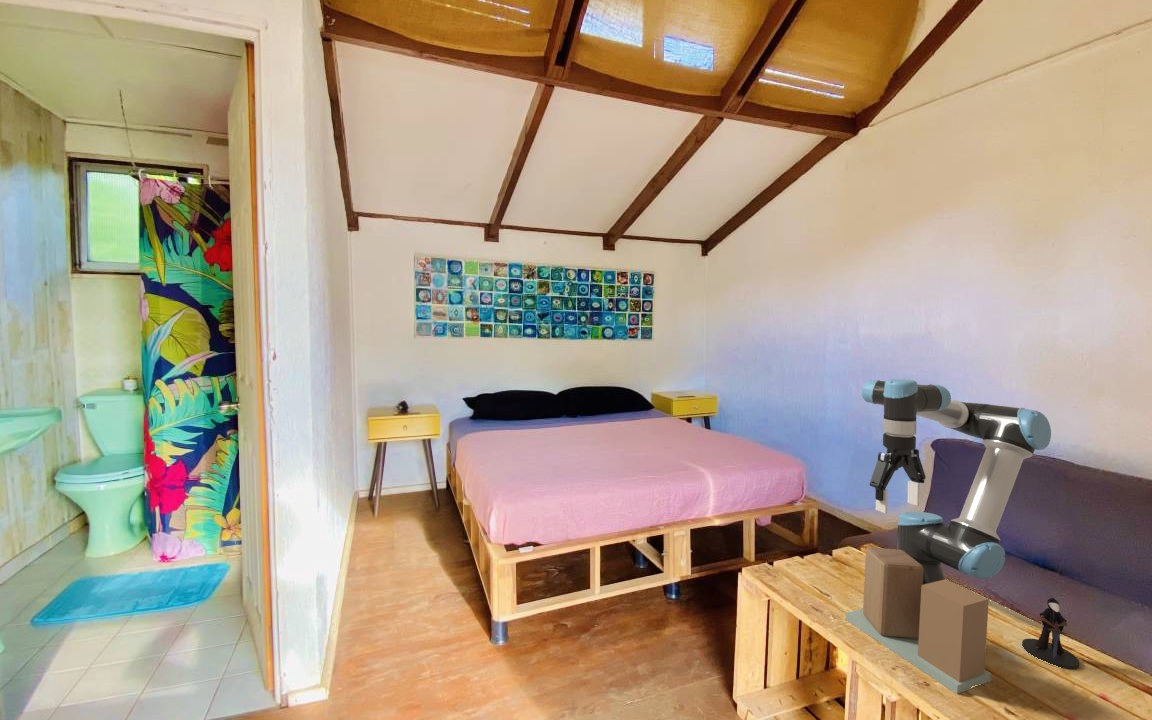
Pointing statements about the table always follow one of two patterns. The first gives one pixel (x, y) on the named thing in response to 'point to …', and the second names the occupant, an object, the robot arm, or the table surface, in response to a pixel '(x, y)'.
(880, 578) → the wooden block
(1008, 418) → the robot arm
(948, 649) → the brown block teal base
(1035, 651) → the figurine
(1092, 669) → the table surface
